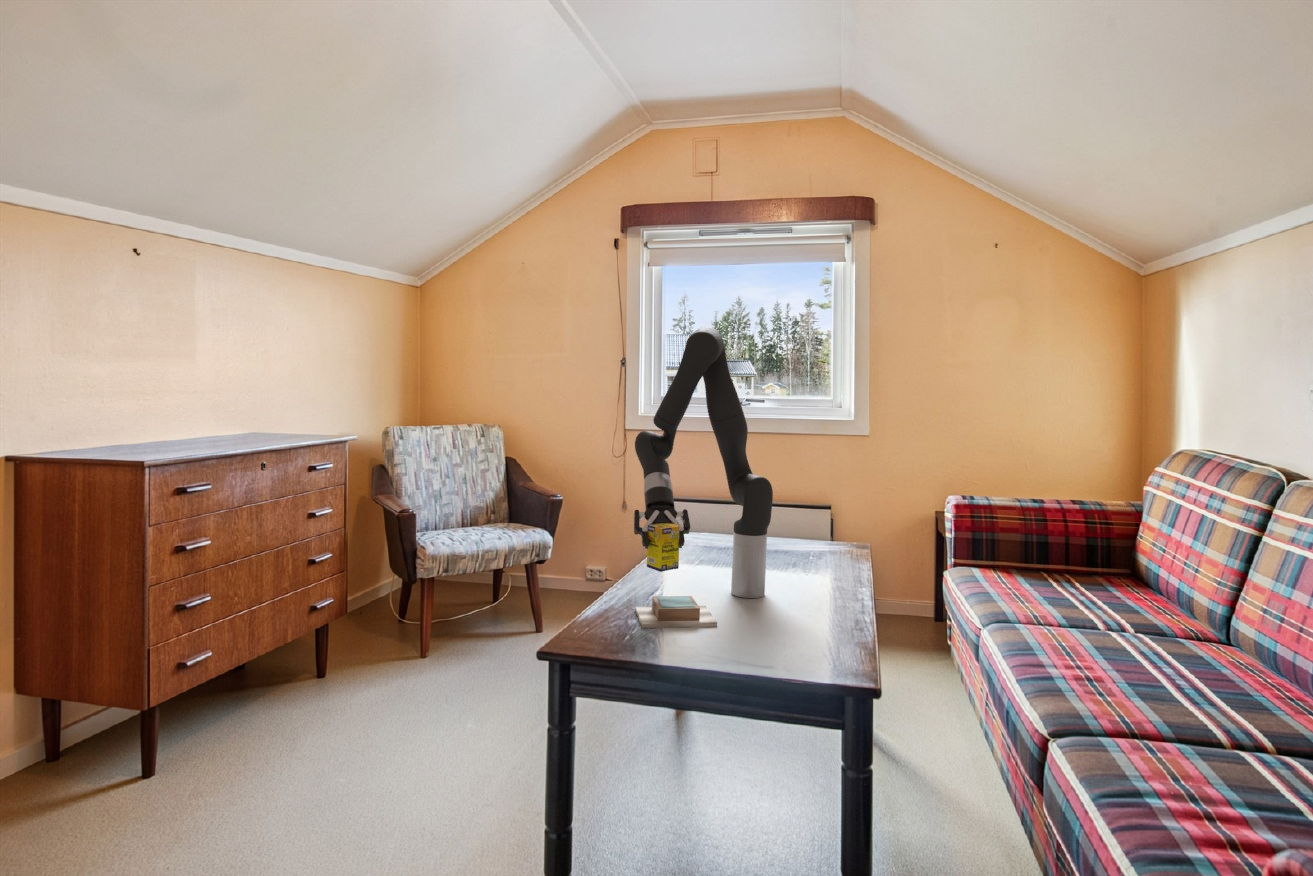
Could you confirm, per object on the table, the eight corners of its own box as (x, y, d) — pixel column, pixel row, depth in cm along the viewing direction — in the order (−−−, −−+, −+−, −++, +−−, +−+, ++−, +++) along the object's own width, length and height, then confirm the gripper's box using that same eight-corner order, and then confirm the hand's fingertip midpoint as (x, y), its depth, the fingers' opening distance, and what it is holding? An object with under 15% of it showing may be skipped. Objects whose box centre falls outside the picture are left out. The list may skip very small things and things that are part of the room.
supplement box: (660, 572, 174) (661, 528, 173) (646, 567, 178) (646, 524, 177) (679, 568, 177) (680, 525, 176) (664, 563, 182) (665, 521, 181)
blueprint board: (635, 610, 179) (635, 594, 179) (705, 609, 182) (705, 593, 181) (642, 628, 166) (642, 610, 166) (717, 626, 169) (717, 609, 168)
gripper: (632, 485, 183) (636, 539, 172) (687, 484, 184) (694, 538, 174) (630, 502, 188) (634, 555, 178) (683, 501, 190) (690, 554, 180)
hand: (663, 546), depth 176 cm, fingers closed on supplement box, 8 cm apart
